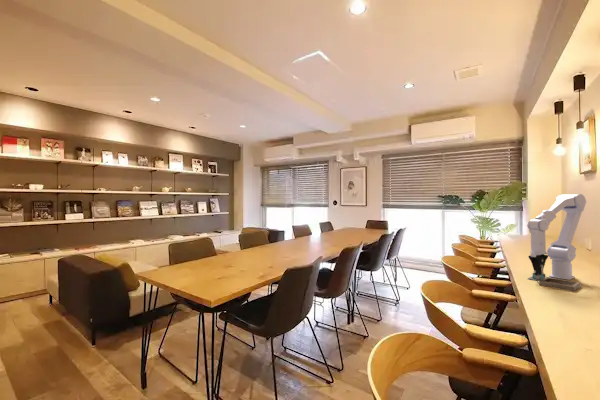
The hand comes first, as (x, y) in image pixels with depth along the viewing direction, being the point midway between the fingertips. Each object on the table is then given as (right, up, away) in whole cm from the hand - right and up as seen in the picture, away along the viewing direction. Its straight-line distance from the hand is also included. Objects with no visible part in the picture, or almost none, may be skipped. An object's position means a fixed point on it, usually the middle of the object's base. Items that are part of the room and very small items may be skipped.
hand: (538, 269), depth 143 cm
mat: (0, -5, 0) cm, 5 cm away
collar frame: (0, -5, -12) cm, 13 cm away
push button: (0, -5, -1) cm, 5 cm away
